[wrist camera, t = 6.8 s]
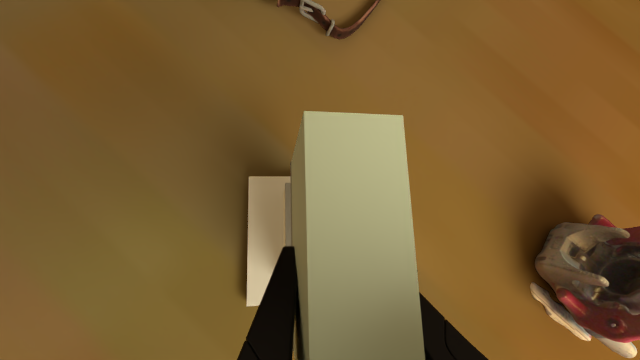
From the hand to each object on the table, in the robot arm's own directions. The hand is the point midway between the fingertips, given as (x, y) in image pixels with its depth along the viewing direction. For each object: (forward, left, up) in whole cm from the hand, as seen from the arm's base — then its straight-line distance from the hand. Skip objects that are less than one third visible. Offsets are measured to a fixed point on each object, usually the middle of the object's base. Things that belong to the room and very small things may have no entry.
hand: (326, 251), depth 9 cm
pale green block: (0, 0, -1) cm, 1 cm away
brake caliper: (+16, -23, -13) cm, 31 cm away
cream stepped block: (0, 0, -13) cm, 13 cm away
